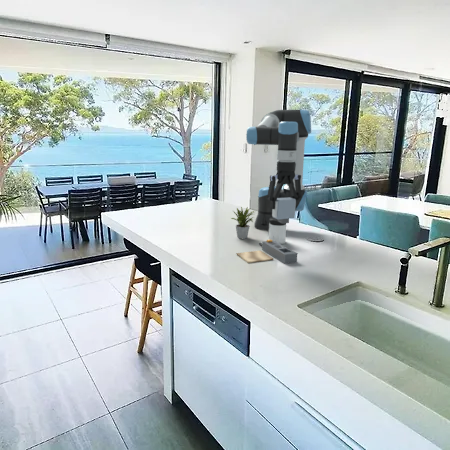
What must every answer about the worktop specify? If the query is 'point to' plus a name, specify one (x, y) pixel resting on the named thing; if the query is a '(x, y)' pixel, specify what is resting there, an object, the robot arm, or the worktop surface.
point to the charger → (285, 209)
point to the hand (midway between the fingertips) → (283, 215)
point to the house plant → (242, 223)
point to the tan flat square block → (254, 256)
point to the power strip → (279, 251)
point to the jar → (277, 231)
